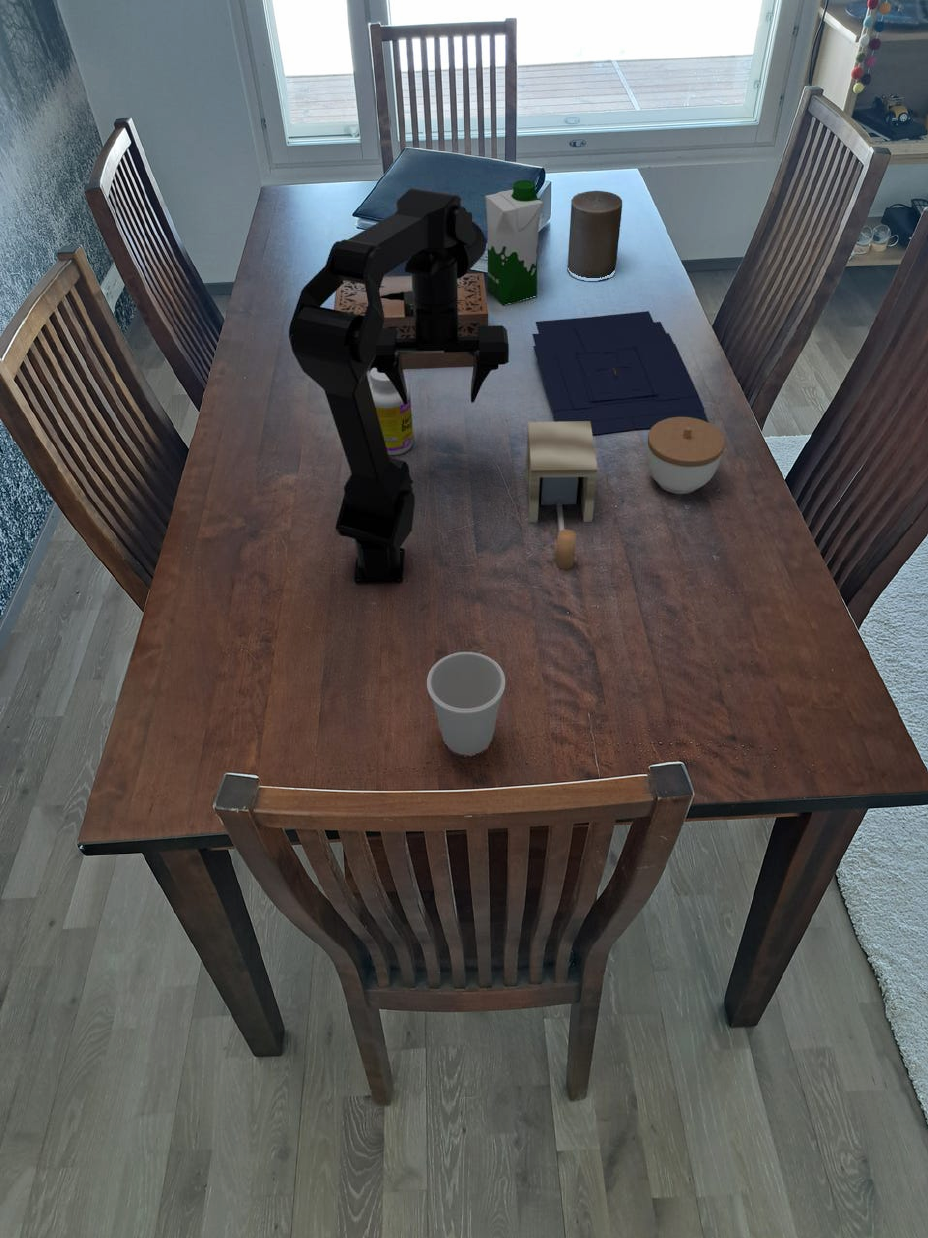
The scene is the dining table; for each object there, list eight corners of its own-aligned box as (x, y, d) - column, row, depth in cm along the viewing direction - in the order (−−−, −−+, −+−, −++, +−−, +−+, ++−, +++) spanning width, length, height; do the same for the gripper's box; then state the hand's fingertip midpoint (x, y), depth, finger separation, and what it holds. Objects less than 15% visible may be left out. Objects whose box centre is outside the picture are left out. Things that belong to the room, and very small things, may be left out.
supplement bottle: (408, 459, 140) (402, 386, 130) (366, 454, 141) (357, 382, 131) (418, 434, 144) (413, 361, 135) (377, 429, 145) (370, 357, 136)
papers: (656, 323, 164) (659, 305, 161) (707, 436, 146) (712, 418, 143) (523, 335, 162) (524, 318, 159) (559, 452, 144) (561, 434, 141)
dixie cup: (504, 707, 106) (505, 651, 99) (503, 767, 101) (504, 712, 93) (433, 706, 107) (429, 649, 100) (428, 765, 101) (423, 710, 94)
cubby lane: (591, 521, 129) (597, 469, 122) (529, 522, 129) (531, 470, 122) (585, 472, 136) (590, 421, 130) (526, 473, 137) (527, 421, 130)
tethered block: (583, 569, 122) (586, 541, 119) (546, 569, 122) (548, 541, 119) (573, 482, 135) (575, 454, 131) (539, 482, 135) (541, 455, 131)
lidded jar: (718, 465, 137) (730, 412, 130) (711, 509, 130) (724, 456, 123) (646, 454, 139) (655, 402, 132) (636, 497, 132) (644, 444, 125)
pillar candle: (623, 266, 182) (632, 189, 171) (602, 286, 176) (609, 208, 165) (580, 255, 185) (586, 179, 174) (557, 275, 180) (562, 197, 169)
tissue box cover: (483, 325, 168) (483, 272, 160) (488, 367, 158) (488, 313, 150) (343, 330, 167) (337, 278, 160) (339, 373, 157) (332, 319, 150)
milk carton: (543, 298, 173) (548, 190, 159) (500, 309, 171) (501, 200, 156) (522, 279, 179) (524, 173, 164) (480, 289, 176) (479, 182, 162)
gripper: (504, 264, 121) (502, 369, 132) (364, 268, 121) (374, 372, 132) (510, 304, 113) (507, 412, 124) (360, 308, 113) (371, 416, 124)
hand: (439, 401), depth 126 cm, fingers open, 9 cm apart
